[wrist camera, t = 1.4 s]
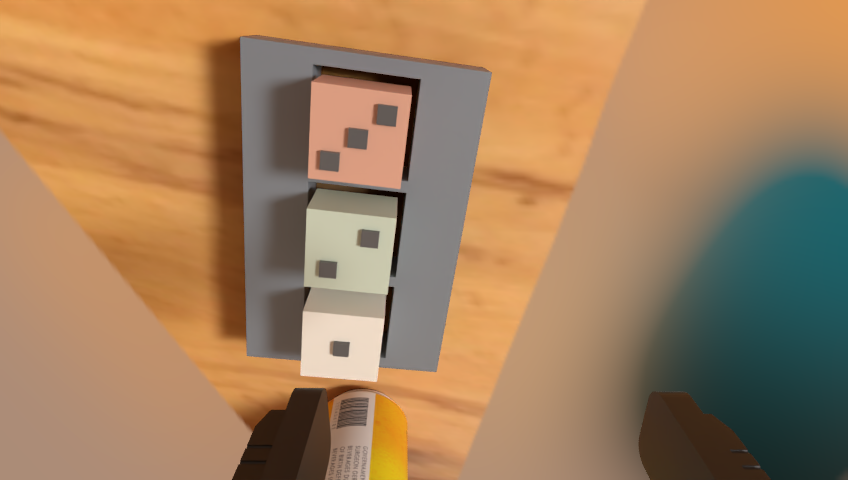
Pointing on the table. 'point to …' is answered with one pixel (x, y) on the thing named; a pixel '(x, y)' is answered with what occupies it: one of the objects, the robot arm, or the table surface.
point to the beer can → (367, 437)
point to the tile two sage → (349, 241)
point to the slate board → (292, 189)
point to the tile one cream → (342, 334)
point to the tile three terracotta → (358, 131)
